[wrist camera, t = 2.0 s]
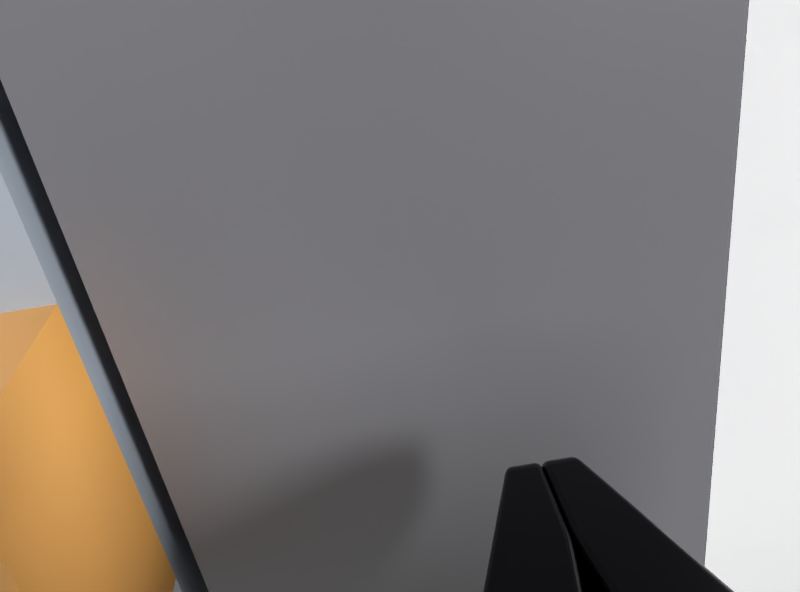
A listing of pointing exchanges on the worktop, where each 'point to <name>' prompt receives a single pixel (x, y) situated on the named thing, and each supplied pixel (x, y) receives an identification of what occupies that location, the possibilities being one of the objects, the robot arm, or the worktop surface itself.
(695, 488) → the cabinet housing
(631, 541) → the robot arm
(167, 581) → the door
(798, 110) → the worktop surface
